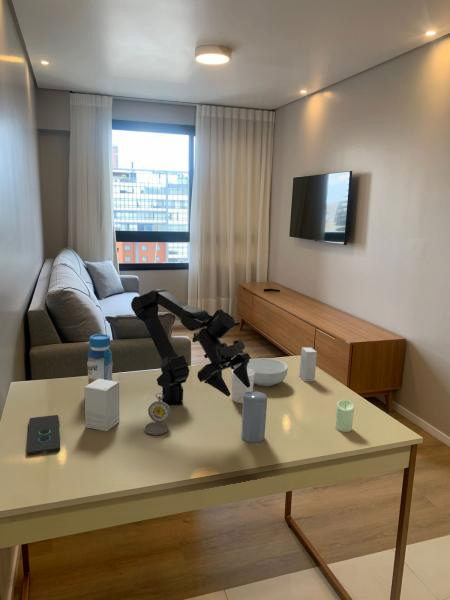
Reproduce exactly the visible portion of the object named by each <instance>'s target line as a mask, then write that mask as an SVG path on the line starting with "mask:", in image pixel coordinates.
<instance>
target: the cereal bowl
mask: <svg viewBox="0 0 450 600" xmlns="http://www.w3.org/2000/svg"><path fill="white" fill-rule="evenodd" d="M247 369H250V370H253V371H254V372H255V375H254V384H255V385H257V386H261V387H272V386H274V385H277V384H279V383H281V382H283V381H284V380H285V378H286V377H287V376H288V375H287V374H288V369H289V368H288V364H287V363H285V362H284V361H281V360H279V359H274V358H267V357H265V358H263V357H260V358H259V357H256V358H251V359H250V360H249V363H248V365H247Z"/></svg>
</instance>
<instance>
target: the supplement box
mask: <svg viewBox="0 0 450 600" xmlns="http://www.w3.org/2000/svg"><path fill="white" fill-rule="evenodd" d="M120 418H121V417H120V382H119V381H114V380H112V381H109V380H104V379H97V380H95V381H94V382H92V383H90V384H89V385H88V384H87V385H86V386H84V419H85V422H84V423H85V428H89V429H93V430H97V431H102V432H108V431H109V430H111V428H113V427H114V426H115V425H117V424H119V422H120V421H121V420H120Z"/></svg>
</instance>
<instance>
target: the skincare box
mask: <svg viewBox="0 0 450 600" xmlns="http://www.w3.org/2000/svg"><path fill="white" fill-rule="evenodd" d="M317 357H318V351H316V349H314V348H313V347H301V352H300V366H299V376H298V377H299V378H301V379H302V380H303V381H304V382H314V381H315V379H316V378H315V377H316V370H317V369H316V368H317V359H318V358H317ZM315 382H316V381H315Z"/></svg>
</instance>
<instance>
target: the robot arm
mask: <svg viewBox="0 0 450 600" xmlns="http://www.w3.org/2000/svg"><path fill="white" fill-rule="evenodd" d="M159 306H161V307H162V308H164V309H166V310H167V311H168V312H170V313H171V314H173V315H174V316H176V317H178V319H179V321H180V323H181V324H182V325H183V326H184V328H185V329H187V331H190V332H192V331H197V330H199V331H197V332H194V333H193V337H192V341H191V342H192V343H196V342H199V344H200V346H201V348H202V349H203V352H204V353H205V354H204V355H203V357H204V359H208V360H209V362H210V363H208V364H205V365H204V366H203V367H201V369H199V371H198V372H197V376H196V377H197V379H198V381H199V382H200V383H202V382H203V383H204V384H206V385H209V386H211V387H213V388H214V389H216V390H218V391H219V392H221V393H222V394H223V395H225V396H227V397H230V396H232V393H231V392H230V389H229V387H228V386H227V384H226V382H225V380H224V379H223V371H224V370H226V369H229V368H230V369H231V370H234V371H233V373H234V374H235V375H236V376H237V377H238V378H239V380H240V381H241V382H242V383H243V384H244V385H245V386H246V387H247V388H249V387H250V382H249V378H248V373H247V365H248V363H249V360H250V359H252V357H251V355H250V353H248V352H245V351H244V350H245V347H246V346H245V344H244V343H245V342H244V341H242V339H240V338H239V339H237V340H234V341H233V343H232V344H231V345H227V343H226V342H222V341H221V340H220V339H222V338H224V337H225V336H226V335H227V334H228V333H229V332H230V331H231V330H232V329H233V328H234V327H235V325H236V321H235V318H234V317H233V316H231V315H230V314H229V313H227V312H225V311H224V310H223V309H222V308H221V309H217V310H216V311H215V312H214V314H213V315H211V314H209V312H207V310H205V309H203V308H199V307H196V306H191V305H188V304H186V303H185V302H183V301H181V300H180V299H178V298H177V297H176V296H174V295H173V294H171V293H169V292H168V291H167V290H166V289H164V288H159V289H152V290H150V291H149V292H147V293H144V294H143V295H138V296H134V297H133V298H132V300H131V302H130V307H131V310H132V311H133V313H134V315H135V316H136V318H137V319H139V320H141V322H144V325H145V327H146V329H147V331H148V333H149V335H150V338H151V339H152V341H153V344H154V347H155V348H156V351H157V352H158V355H159V357H160V359H161V365H160V370H161V374H160V375H159V376H158V377H157V378H156V383H157V385H158V386H159V387H160V388H162V389H161V393H162V394H163V395H164V398H163V395H162V394H161V396H160V397H161V398H163V399H161V401H162V402H165V403H166V404H167V405H168V406H174V405H175V406H176V405H182V404H183V402H182V401H184V387H183V386H182V384H184V383H186V382H187V379H188V377H189V375H190V367H189V366H190V365H189V364H188V362H187V360H186V357H185V356H184V354H183V355H179V354H177V353H176V351H175V349H174V348H173V345H172V343H171V341H170V339H169V336H168V335H167V333H166V331H165V328H164V327H163V325H162V322H161V320H160V318H159Z"/></svg>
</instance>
